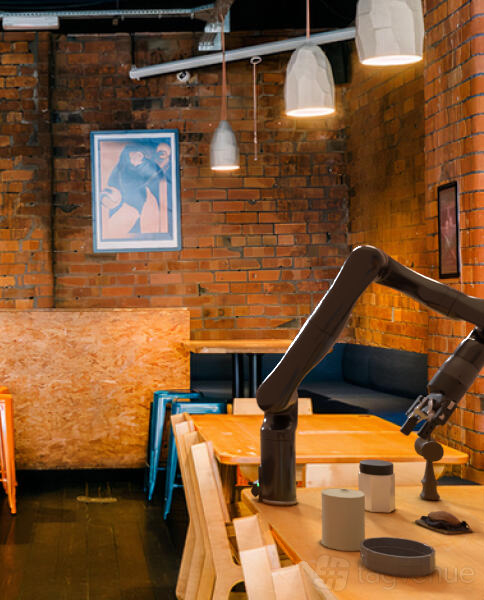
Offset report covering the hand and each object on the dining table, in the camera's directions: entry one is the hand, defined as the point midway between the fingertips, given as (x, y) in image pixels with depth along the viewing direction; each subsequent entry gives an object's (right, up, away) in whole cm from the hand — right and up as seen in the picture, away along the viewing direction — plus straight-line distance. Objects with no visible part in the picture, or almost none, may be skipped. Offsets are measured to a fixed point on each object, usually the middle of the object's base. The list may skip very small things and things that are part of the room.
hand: (411, 435), depth 183 cm
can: (-19, -23, -7) cm, 31 cm away
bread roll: (+10, -23, +6) cm, 26 cm away
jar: (+2, -23, +24) cm, 33 cm away
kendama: (+21, -23, +33) cm, 46 cm away
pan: (-13, -23, -22) cm, 34 cm away
